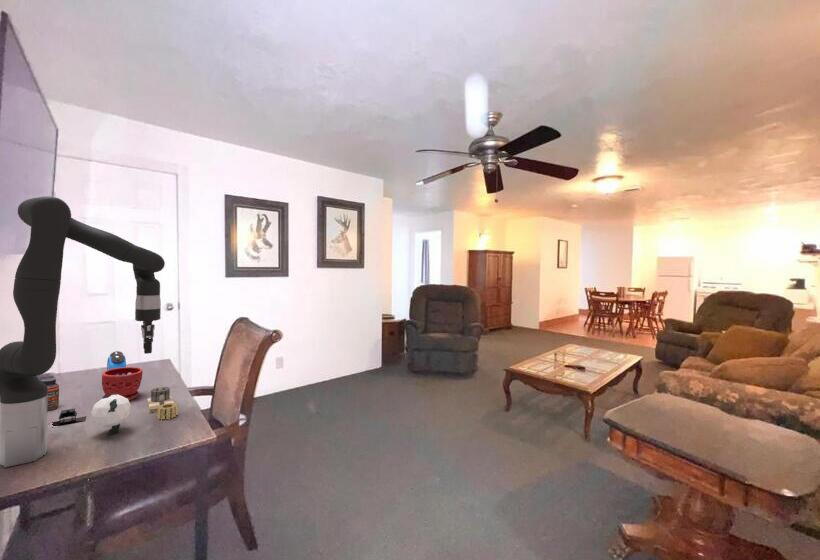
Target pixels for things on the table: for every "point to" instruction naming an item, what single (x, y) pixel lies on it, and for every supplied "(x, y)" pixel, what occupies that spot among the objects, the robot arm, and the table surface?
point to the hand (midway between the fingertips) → (147, 350)
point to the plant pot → (122, 382)
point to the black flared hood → (71, 420)
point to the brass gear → (167, 411)
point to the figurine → (111, 412)
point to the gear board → (154, 406)
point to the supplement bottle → (52, 393)
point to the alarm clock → (116, 361)
